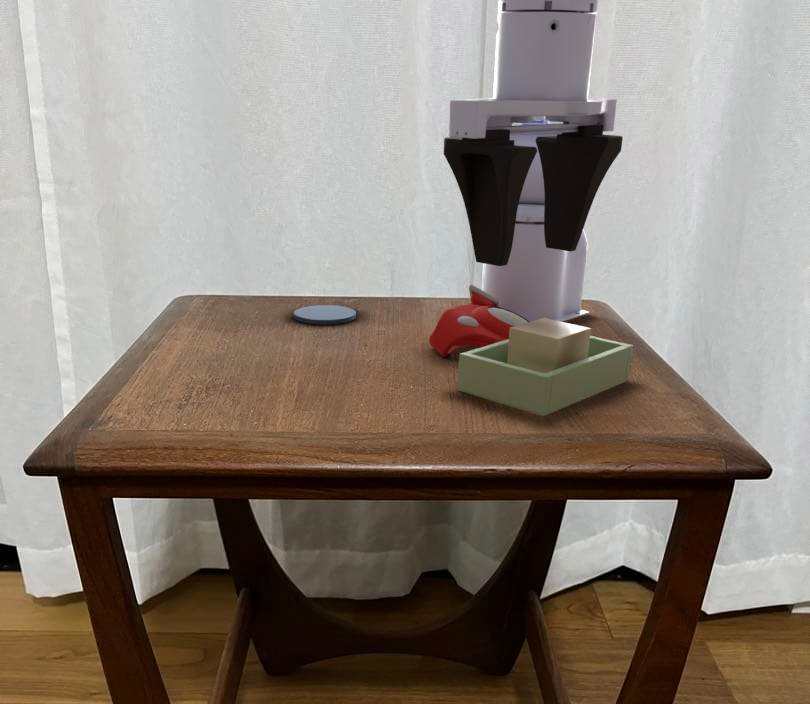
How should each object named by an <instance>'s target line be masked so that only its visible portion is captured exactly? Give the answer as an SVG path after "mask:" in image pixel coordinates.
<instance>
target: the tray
mask: <svg viewBox="0 0 810 704" xmlns="http://www.w3.org/2000/svg"><path fill="white" fill-rule="evenodd" d="M508 344H509V339H507V340H504V341H501V342H497V343H494V344H491V345H487V346H484V347H478V348H475V349H471V350H468V351H465V352H460V353H459V355H458V356H459V357H458V376H457V377H458V378H457V391H460V392H462V393H466V394H469V395H473V396H476V397H480V398H482V399H486V400H489V401H492V402H496V403H500V404H502V405H506V406H510V407H513V408H516V409H519V410H523V411H526V412H529V413H532V414H535V415H539V416H542V417H544V416H547V415H549V414H552V413H554V412H556V411H559V410H561V409H563V408H566V407H569V406H571V405H573V404H575V403H578V402H581V401H583V400H585V399H588V398H590V397H592V396H594V395H597V394H599V393H602V392H604V391H607V390H610V389H611V388H614V387H617V386H619V385H622V384H623V383H626V382H628V381H630V380H629V379H630V375H631V368H632V359H633V353H634V345H633V344H629V343H624V342H619V341H615V340H611V339H607V338H602V337H599V336H598V337H597V336H593V335H590V342H589V351H588V358H587V359H584V360H581V361H578V362H576V363H573V364H570V365H567V366H564V367H562V368H559V369H556V370H553V371H551V372H548V373H545V374H544V373H541V372H537V371H533V370H529V369H526V368H522V367H518V366H514V365H511V364H507V358H508Z"/></svg>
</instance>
